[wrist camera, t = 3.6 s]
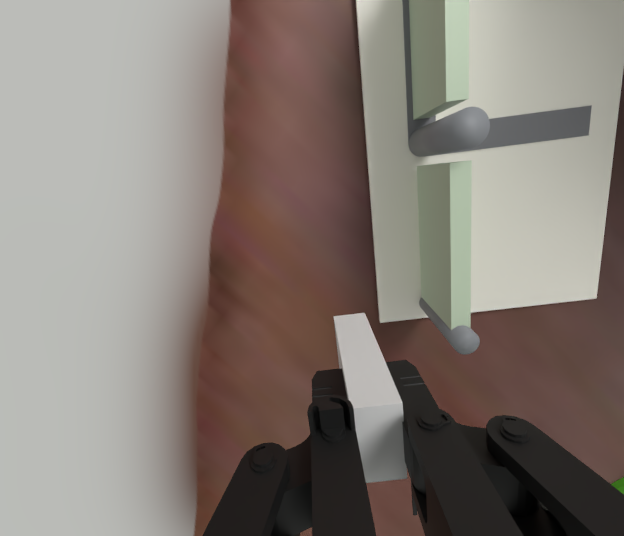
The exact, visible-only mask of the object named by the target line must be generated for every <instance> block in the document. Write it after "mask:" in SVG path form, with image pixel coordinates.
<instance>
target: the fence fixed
mask: <svg viewBox="0 0 624 536" xmlns="http://www.w3.org/2000/svg"><path fill="white" fill-rule="evenodd" d="M409 16H410V42H411V69H412V96H413V120H416V119H423V118H430V117H432V116H434V115H437V114H439V113H441V112H443V111H445V110H447V109H449V108H451V107H453V106H455V105H457V104H459V103H461V102H463V101H465V100H467V99H469V0H409ZM489 129H490V121H489V117H488V115H487V114H486V113H485V111H483V110H482V109H481V108H478V107H467V108H464V109H462V110H460V111H457V112H455V113H453V114H451V115H448V116H446V117H444V118H442V119H439V120H437V121H435V122H432V123H430V124H428V125H426V126H423V127H421V128H419V129H417V130H415V131H414V132H413V133H412V134H411V136H410V138H409V144H408V145H409V149H410V151H411V153H412V154H414V155H415V156H418V157H424V156H430V155H436V154H442V153H448V152H454V151H460V150H466V149H471V148H475V147H477V146H479V145H480V144H481V143H482V142H483V141H484V140H485V139H486V137H487V135H488V133H489Z"/></svg>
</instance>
